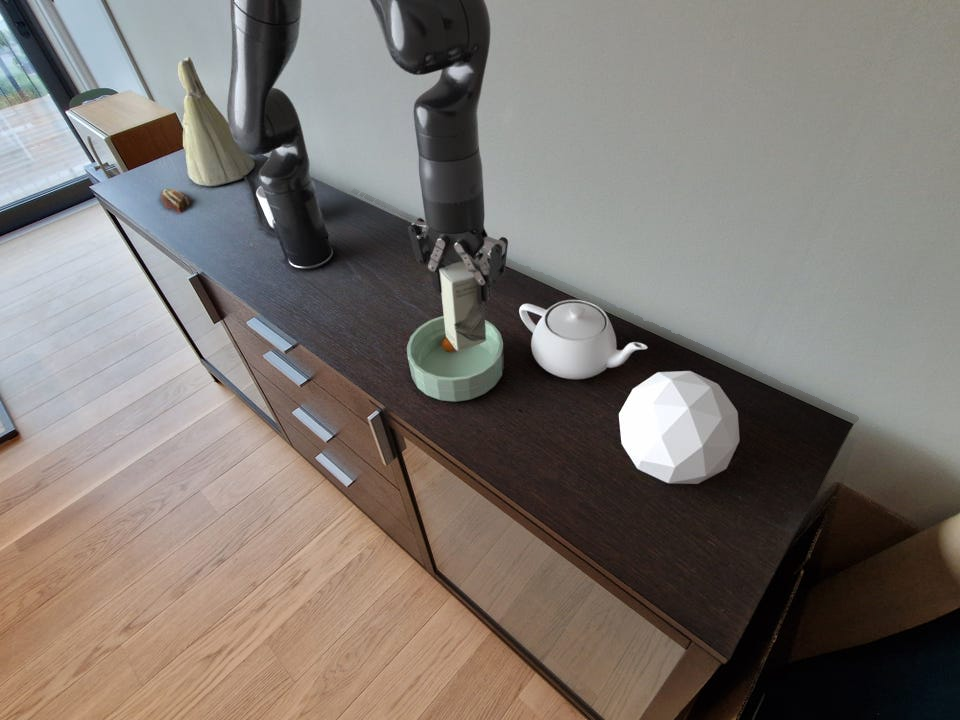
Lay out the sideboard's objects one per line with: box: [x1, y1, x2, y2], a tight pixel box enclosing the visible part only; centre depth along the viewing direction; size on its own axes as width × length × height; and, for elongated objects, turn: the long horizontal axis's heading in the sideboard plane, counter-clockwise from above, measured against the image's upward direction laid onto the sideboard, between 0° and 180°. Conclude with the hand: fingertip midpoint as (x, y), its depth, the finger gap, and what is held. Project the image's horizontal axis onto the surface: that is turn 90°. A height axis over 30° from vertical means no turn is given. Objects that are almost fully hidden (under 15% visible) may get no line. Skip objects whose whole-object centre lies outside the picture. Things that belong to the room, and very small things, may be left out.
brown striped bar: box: [160, 188, 191, 213], centre depth 135 cm, size 14×6×2 cm, turn 49°
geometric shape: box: [618, 370, 740, 485], centre depth 68 cm, size 14×15×15 cm
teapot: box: [518, 299, 649, 380], centre depth 84 cm, size 22×14×11 cm, turn 54°
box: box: [439, 261, 486, 351], centre depth 77 cm, size 5×4×13 cm
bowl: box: [406, 315, 505, 403], centre depth 86 cm, size 15×15×6 cm
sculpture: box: [177, 55, 255, 187], centre depth 136 cm, size 17×18×30 cm
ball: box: [442, 337, 456, 352], centre depth 89 cm, size 3×3×3 cm
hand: (462, 294), depth 75 cm, fingers closed on box, 6 cm apart
